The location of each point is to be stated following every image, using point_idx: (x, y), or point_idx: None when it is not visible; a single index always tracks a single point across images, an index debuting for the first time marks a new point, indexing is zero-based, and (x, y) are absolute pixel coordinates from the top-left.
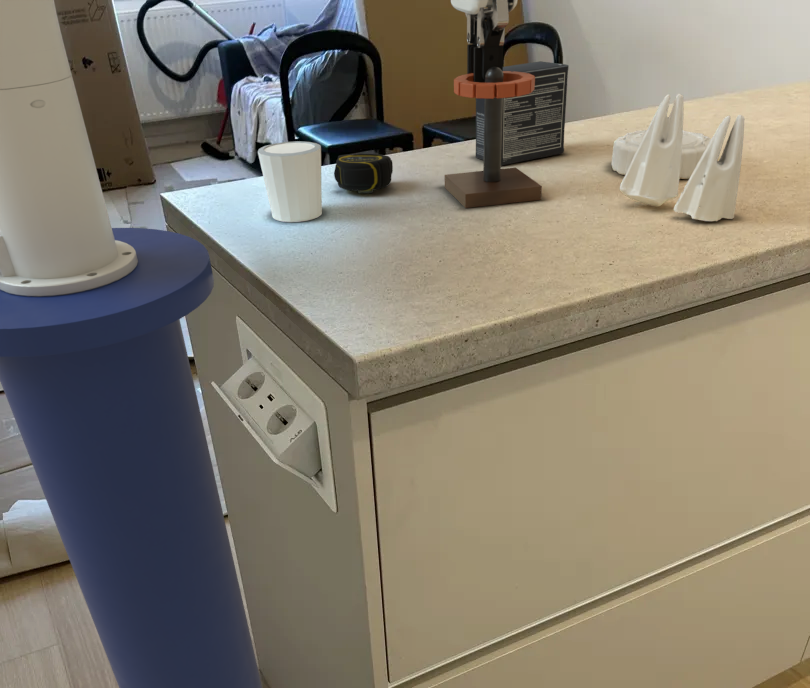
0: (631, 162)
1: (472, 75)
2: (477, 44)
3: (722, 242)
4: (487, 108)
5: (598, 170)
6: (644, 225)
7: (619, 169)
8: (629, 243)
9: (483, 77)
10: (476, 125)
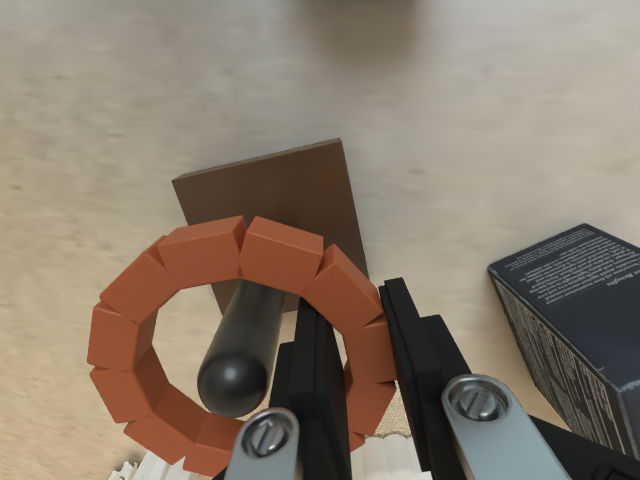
0: (155, 473)
1: (318, 309)
2: (286, 417)
3: (39, 475)
4: (231, 302)
5: (405, 414)
6: (99, 418)
7: (368, 442)
8: (16, 388)
9: (288, 343)
10: (635, 250)
